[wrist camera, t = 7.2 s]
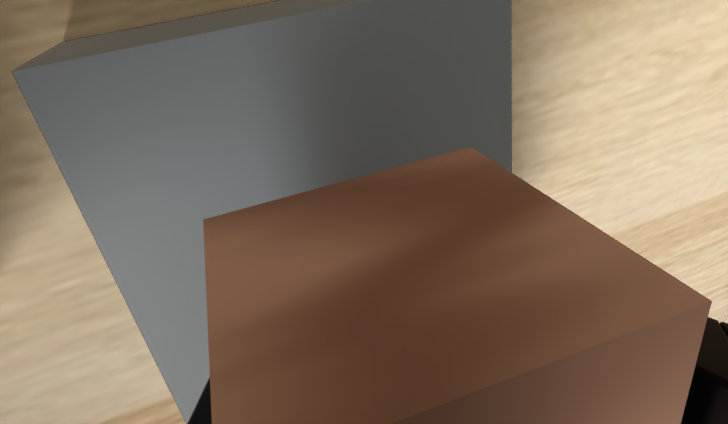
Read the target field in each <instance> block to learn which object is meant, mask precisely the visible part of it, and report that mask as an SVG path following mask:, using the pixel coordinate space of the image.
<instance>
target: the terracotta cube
mask: <svg viewBox="0 0 728 424" xmlns="http://www.w3.org/2000/svg"><path fill="white" fill-rule="evenodd" d="M203 228H204V252H205V275H206V299H207V322H208V346H209V369H210V393H211V416H212V424H681V421H682V417H683V413H684V409H685V405H686V401H687V397H688V393H689V389H690V385H691V381H692V377H693V373H694V369H695V365H696V361H697V357H698V354H699V350H700V346H701V342H702V338H703V334H704V330H705V326H706V322H707V318H708V314H709V310H710V306H711V302H712V301H711V300H709V299H707V298H706V297H704V296H703V295H701V294H700V293H698V292H697V291H695V290H693V289H692V288H690V287H689V286H687V285H686V284H684V283H682V282H681V281H679V280H678V279H676V278H675V277H673V276H672V275H670V274H668V273H667V272H665V271H664V270H662V269H661V268H659V267H658V266H656V265H654V264H653V263H651V262H650V261H648V260H647V259H645V258H643V257H642V256H640V255H639V254H637V253H636V252H634V251H633V250H631V249H629V248H628V247H626V246H625V245H623V244H622V243H620V242H619V241H617V240H615V239H614V238H612V237H611V236H609V235H608V234H606V233H604V232H603V231H601V230H600V229H598V228H597V227H595V226H594V225H592V224H590V223H589V222H587V221H586V220H584V219H583V218H581V217H579V216H578V215H576V214H575V213H573V212H572V211H570V210H569V209H567V208H565V207H564V206H562V205H561V204H559V203H558V202H556V201H555V200H553V199H551V198H550V197H548V196H547V195H545V194H544V193H542V192H540V191H539V190H537V189H536V188H534V187H533V186H531V185H530V184H528V183H526V182H525V181H523V180H522V179H520V178H519V177H517V176H516V175H514V174H512V173H511V172H509V171H508V170H506V169H505V168H503V167H501V166H500V165H498V164H497V163H495V162H494V161H492V160H491V159H489V158H487V157H486V156H484V155H483V154H481V153H480V152H478V151H477V150H475V149H473V148H472V147H468V148H464V149H460V150H457V151H453V152H449V153H446V154H442V155H438V156H435V157H431V158H427V159H424V160H420V161H416V162H413V163H409V164H405V165H402V166H398V167H394V168H391V169H387V170H383V171H380V172H376V173H372V174H368V175H365V176H361V177H357V178H354V179H350V180H346V181H343V182H339V183H335V184H332V185H328V186H324V187H321V188H317V189H313V190H310V191H306V192H302V193H299V194H295V195H291V196H288V197H284V198H280V199H276V200H273V201H269V202H265V203H262V204H258V205H254V206H251V207H247V208H243V209H240V210H236V211H232V212H229V213H225V214H221V215H218V216H214V217H210V218H207V219H203Z"/></svg>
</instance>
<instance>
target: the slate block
mask: <svg viewBox="0 0 728 424" xmlns="http://www.w3.org/2000/svg"><path fill="white" fill-rule="evenodd" d="M11 72H12V74H13V76H14V78H15V80H16V82H17V84H18V86H19V88H20V90H21V92H22V94H23V96H24V98H25V100H26V102H27V104H28V106H29V108H30V110H31V112H32V114H33V116H34V118H35V120H36V122H37V124H38V126H39V128H40V130H41V132H42V134H43V136H44V138H45V140H46V142H47V144H48V146H49V148H50V150H51V152H52V154H53V156H54V158H55V161H56V163H57V165H58V167H59V169H60V171H61V173H62V175H63V177H64V179H65V181H66V183H67V185H68V187H69V189H70V191H71V193H72V195H73V197H74V199H75V201H76V203H77V205H78V207H79V209H80V211H81V213H82V215H83V217H84V219H85V221H86V223H87V225H88V227H89V229H90V231H91V233H92V235H93V237H94V239H95V241H96V243H97V245H98V247H99V249H100V251H101V253H102V255H103V257H104V259H105V261H106V263H107V265H108V267H109V269H110V271H111V273H112V275H113V277H114V279H115V281H116V283H117V285H118V287H119V289H120V291H121V293H122V295H123V297H124V299H125V301H126V303H127V305H128V307H129V310H130V312H131V314H132V316H133V318H134V320H135V322H136V324H137V326H138V328H139V330H140V332H141V334H142V336H143V338H144V340H145V342H146V344H147V346H148V348H149V350H150V352H151V354H152V356H153V358H154V360H155V362H156V364H157V366H158V368H159V370H160V372H161V374H162V376H163V378H164V380H165V382H166V384H167V386H168V388H169V390H170V392H171V394H172V396H173V398H174V400H175V402H176V404H177V406H178V408H179V410H180V412H181V414H182V416H183V418H184V420H185V422H186V424H187V423H188V421H189V419H190V417H191V415H192V412H193V410H194V408H195V406H196V404H197V402H198V400H199V398H200V396H201V393H202V391H203V389H204V387H205V385H206V383H207V381H208V379H209V377H210V369H209V346H208V322H207V299H206V275H205V252H204V228H203V219H207V218H210V217H214V216H218V215H221V214H225V213H229V212H232V211H236V210H240V209H243V208H247V207H251V206H254V205H258V204H262V203H265V202H269V201H273V200H276V199H280V198H284V197H288V196H291V195H295V194H299V193H302V192H306V191H310V190H313V189H317V188H321V187H324V186H328V185H332V184H335V183H339V182H343V181H346V180H350V179H354V178H357V177H361V176H365V175H368V174H372V173H376V172H380V171H383V170H387V169H391V168H394V167H398V166H402V165H405V164H409V163H413V162H416V161H420V160H424V159H427V158H431V157H435V156H438V155H442V154H446V153H449V152H453V151H457V150H460V149H464V148H468V147H472V148H473V149H475V150H477V151H478V152H480V153H481V154H483V155H484V156H486V157H487V158H489V159H491V160H492V161H494V162H495V163H497V164H498V165H500V166H501V167H503V168H505V169H506V170H508V171H509V172H511V173H512V126H511V0H279V1H274V2H269V3H263V4H258V5H253V6H248V7H242V8H237V9H232V10H227V11H221V12H216V13H211V14H206V15H201V16H195V17H190V18H185V19H180V20H174V21H169V22H164V23H159V24H153V25H148V26H143V27H138V28H133V29H127V30H122V31H117V32H112V33H106V34H101V35H96V36H91V37H85V38H80V39H75V40H70V41H65V42H61V43H60V44H58V45H56V46H54V47H53V48H51V49H49V50H48V51H46V52H44V53H42V54H41V55H39V56H37V57H36V58H34V59H32V60H30V61H29V62H27V63H25V64H23V65H22V66H20V67H18V68H17V69H15V70H13V71H11Z"/></svg>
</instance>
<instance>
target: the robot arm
mask: <svg viewBox="0 0 728 424" xmlns="http://www.w3.org/2000/svg"><path fill="white" fill-rule="evenodd" d="M187 424H212V416H211V393H210V377H209V379H208V381H207V383H206V385H205V387H204V389H203V391H202V393H201V396H200V398H199V400H198V402H197V404H196V406H195V408H194V410H193V412H192V415H191V417H190V419H189V421H188V423H187ZM681 424H728V323H725V322H721V323H719V322H718V321H717V320H715V319H712V318H709V317H708V318H707V322H706V326H705V330H704V334H703V338H702V342H701V346H700V350H699V354H698V357H697V361H696V365H695V369H694V373H693V377H692V381H691V385H690V389H689V393H688V397H687V401H686V405H685V409H684V413H683V417H682V421H681Z"/></svg>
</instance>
